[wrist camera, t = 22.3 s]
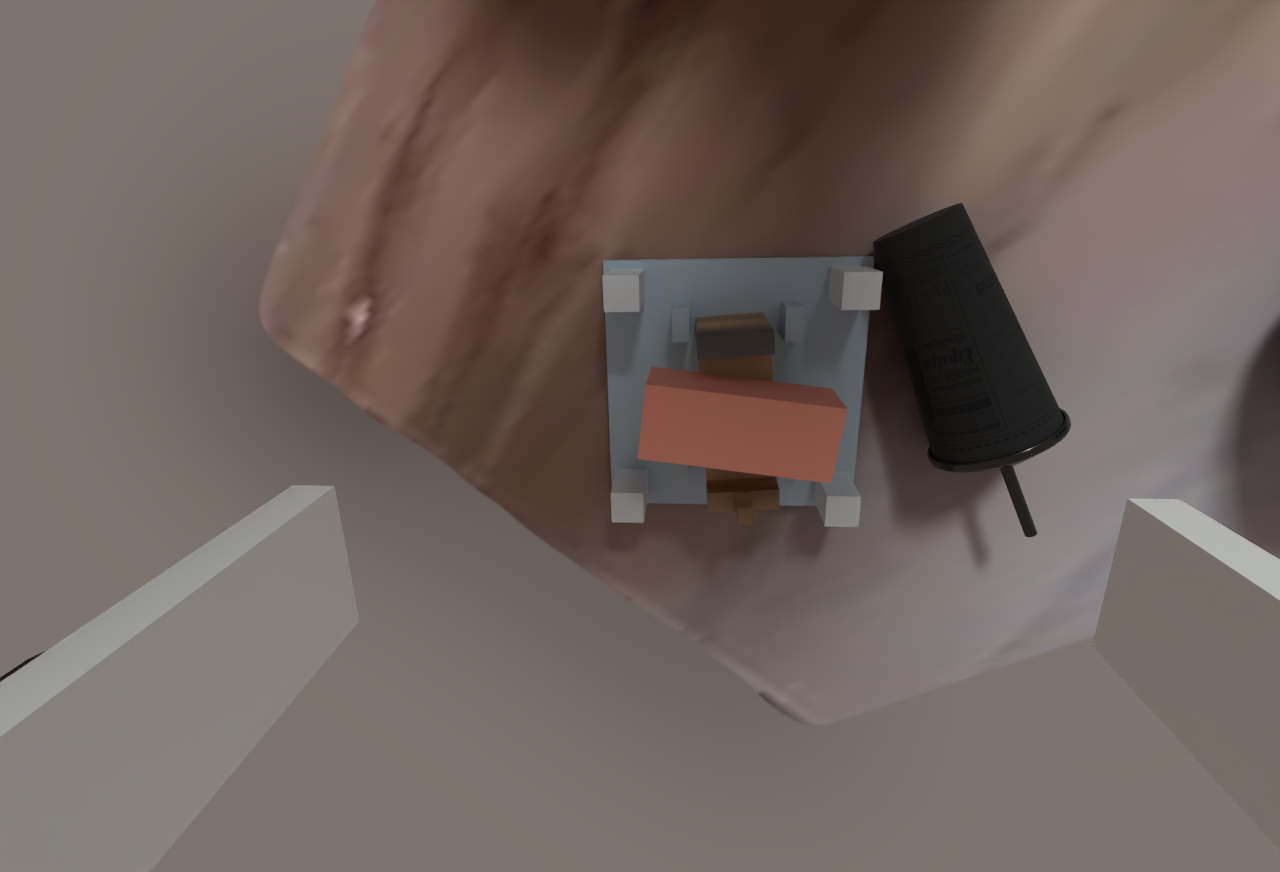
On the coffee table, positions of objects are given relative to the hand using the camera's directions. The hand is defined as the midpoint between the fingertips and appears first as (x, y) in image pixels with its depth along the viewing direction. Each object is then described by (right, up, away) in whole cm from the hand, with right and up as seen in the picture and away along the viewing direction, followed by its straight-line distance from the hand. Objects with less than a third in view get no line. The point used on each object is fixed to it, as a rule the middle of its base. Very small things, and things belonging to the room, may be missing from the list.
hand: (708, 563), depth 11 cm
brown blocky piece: (+5, +5, +30) cm, 31 cm away
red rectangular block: (+4, +4, +26) cm, 26 cm away
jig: (+5, +5, +31) cm, 32 cm away
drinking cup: (+14, +14, +25) cm, 32 cm away
